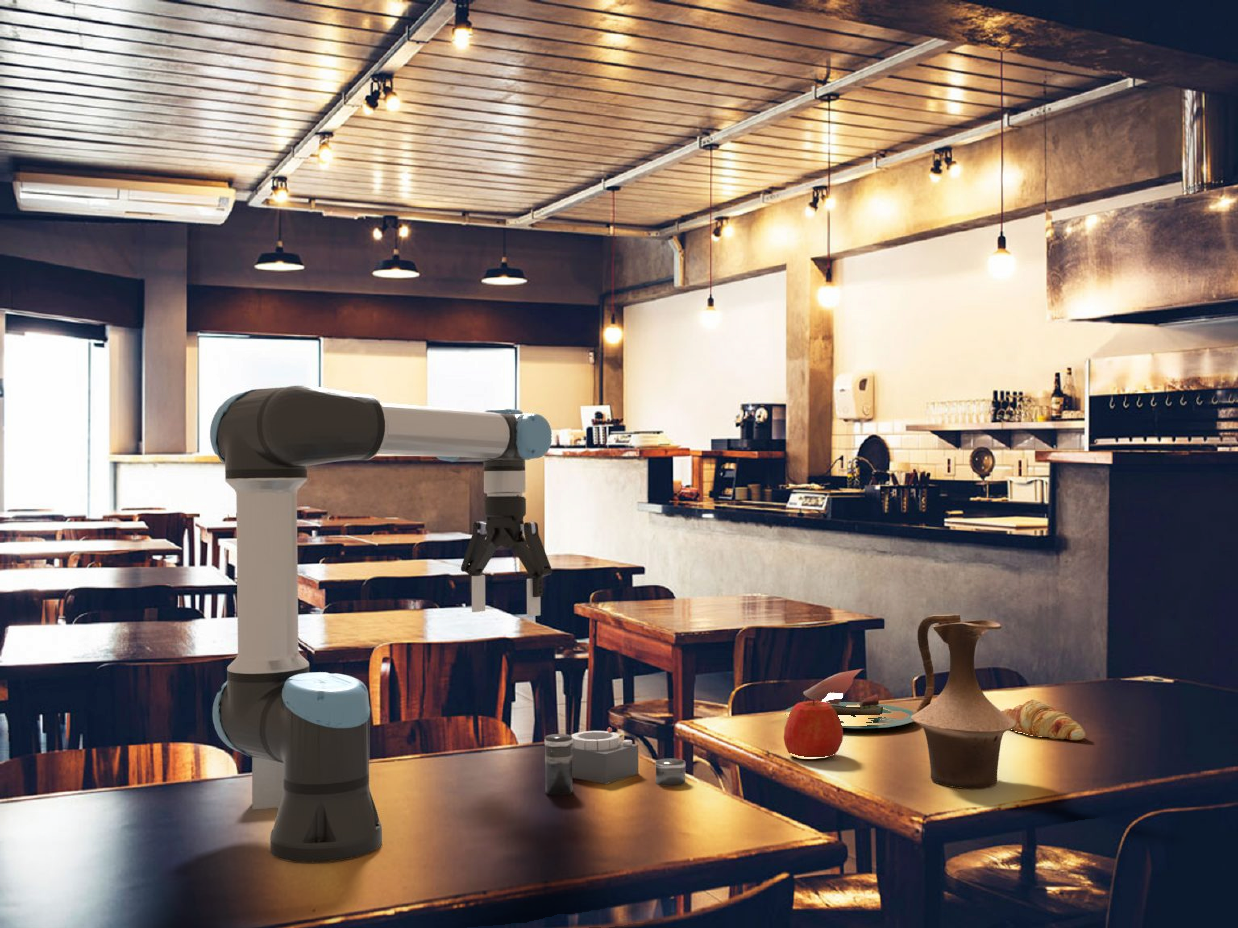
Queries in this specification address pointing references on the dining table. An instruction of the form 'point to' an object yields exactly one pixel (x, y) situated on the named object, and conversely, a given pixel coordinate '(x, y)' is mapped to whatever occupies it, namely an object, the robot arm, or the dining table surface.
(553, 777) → the lens
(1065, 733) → the croissant
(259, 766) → the light grey rectangular block
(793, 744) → the apple
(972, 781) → the pitcher
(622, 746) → the camera body
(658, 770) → the cylinder
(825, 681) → the plate
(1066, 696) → the dining table surface
